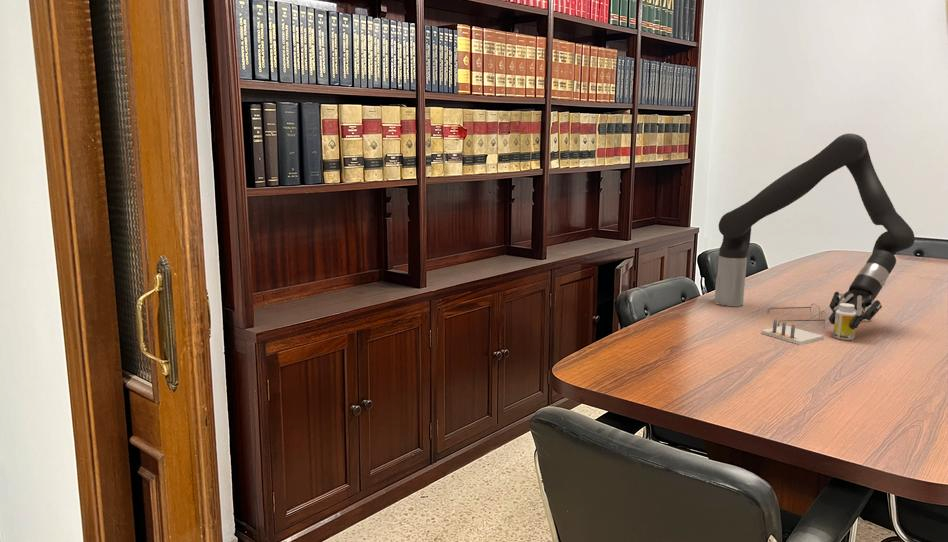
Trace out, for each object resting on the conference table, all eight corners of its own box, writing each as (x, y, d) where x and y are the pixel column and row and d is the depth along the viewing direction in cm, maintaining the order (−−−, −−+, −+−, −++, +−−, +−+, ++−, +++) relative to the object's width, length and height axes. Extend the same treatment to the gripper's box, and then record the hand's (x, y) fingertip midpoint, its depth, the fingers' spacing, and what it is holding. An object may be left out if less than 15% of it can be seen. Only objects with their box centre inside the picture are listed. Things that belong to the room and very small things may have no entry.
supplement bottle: (858, 339, 204) (862, 305, 202) (845, 341, 201) (849, 307, 199) (841, 334, 209) (844, 301, 207) (828, 336, 206) (832, 303, 204)
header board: (761, 333, 209) (762, 317, 208) (784, 328, 215) (786, 312, 214) (800, 344, 198) (801, 328, 197) (823, 339, 204) (825, 322, 203)
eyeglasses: (828, 330, 215) (830, 314, 214) (777, 327, 218) (779, 312, 217) (814, 316, 230) (815, 302, 229) (766, 314, 233) (768, 300, 232)
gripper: (842, 269, 211) (814, 312, 207) (889, 278, 199) (860, 323, 195) (850, 284, 215) (823, 326, 211) (897, 293, 203) (869, 338, 199)
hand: (841, 325), depth 203 cm, fingers closed on supplement bottle, 5 cm apart
